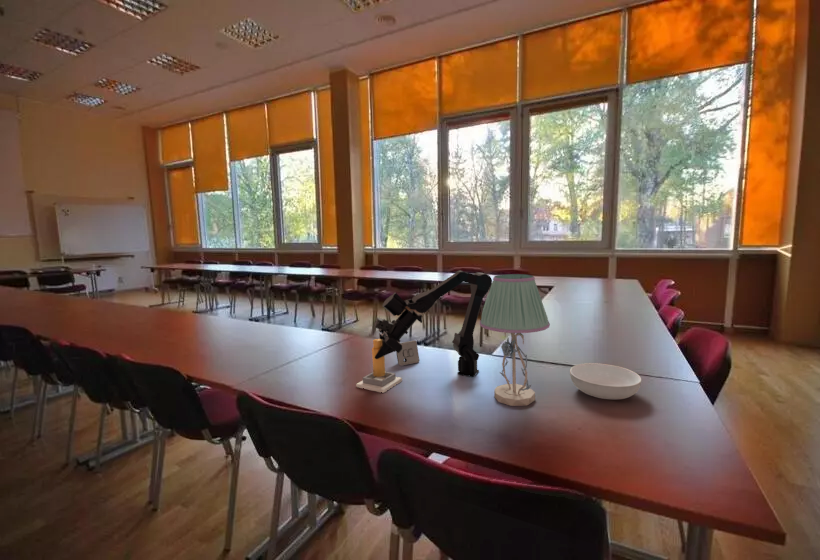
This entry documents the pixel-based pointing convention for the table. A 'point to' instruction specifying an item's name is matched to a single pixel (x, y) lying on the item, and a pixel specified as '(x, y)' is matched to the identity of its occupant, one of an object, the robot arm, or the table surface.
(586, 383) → the serving bowl
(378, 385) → the plate
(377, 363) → the orange bottle
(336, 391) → the table surface
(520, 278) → the table lamp
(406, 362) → the electrical switch
